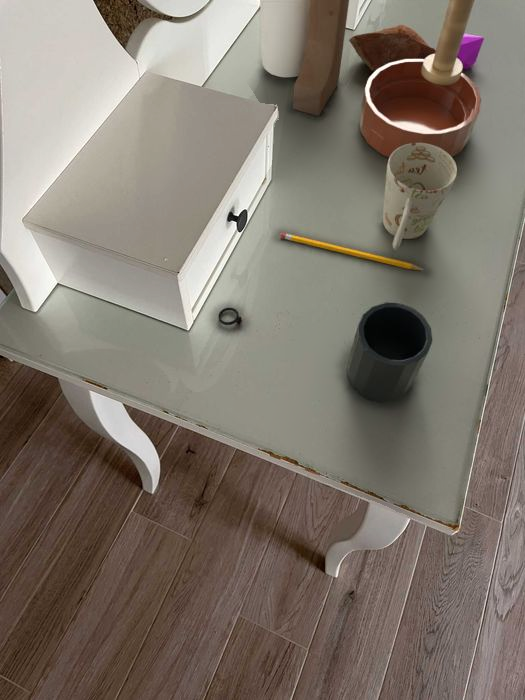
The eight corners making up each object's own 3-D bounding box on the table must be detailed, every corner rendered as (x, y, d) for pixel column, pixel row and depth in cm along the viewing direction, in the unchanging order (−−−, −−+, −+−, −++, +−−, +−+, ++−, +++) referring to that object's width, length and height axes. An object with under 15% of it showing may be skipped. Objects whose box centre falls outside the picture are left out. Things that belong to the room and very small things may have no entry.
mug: (440, 207, 81) (461, 150, 72) (424, 277, 75) (446, 224, 66) (381, 194, 82) (395, 136, 73) (361, 261, 76) (374, 207, 67)
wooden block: (319, 117, 90) (331, -2, 74) (292, 109, 91) (298, -10, 75) (338, 83, 94) (354, -37, 78) (312, 76, 95) (323, -44, 79)
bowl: (488, 151, 86) (502, 117, 81) (388, 179, 83) (396, 145, 78) (435, 84, 94) (445, 49, 89) (341, 107, 91) (346, 72, 86)
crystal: (455, 49, 98) (463, 22, 94) (478, 66, 96) (488, 39, 92) (433, 60, 97) (440, 34, 93) (456, 77, 95) (465, 51, 91)
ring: (215, 322, 72) (236, 331, 71) (214, 317, 71) (235, 326, 70) (225, 308, 73) (246, 316, 72) (224, 303, 72) (245, 311, 71)
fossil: (450, 53, 92) (429, 5, 84) (424, 100, 92) (400, 56, 84) (386, 48, 100) (361, 4, 92) (362, 90, 100) (335, 50, 93)
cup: (291, 92, 93) (296, 2, 80) (249, 72, 95) (248, -19, 83) (321, 65, 96) (330, -25, 84) (280, 46, 98) (283, -44, 86)
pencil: (281, 234, 78) (282, 231, 78) (423, 269, 76) (425, 265, 75) (280, 239, 78) (280, 235, 77) (422, 273, 75) (424, 270, 75)
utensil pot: (423, 390, 67) (445, 351, 59) (363, 411, 66) (377, 374, 58) (394, 336, 70) (411, 294, 63) (336, 355, 69) (346, 314, 61)
